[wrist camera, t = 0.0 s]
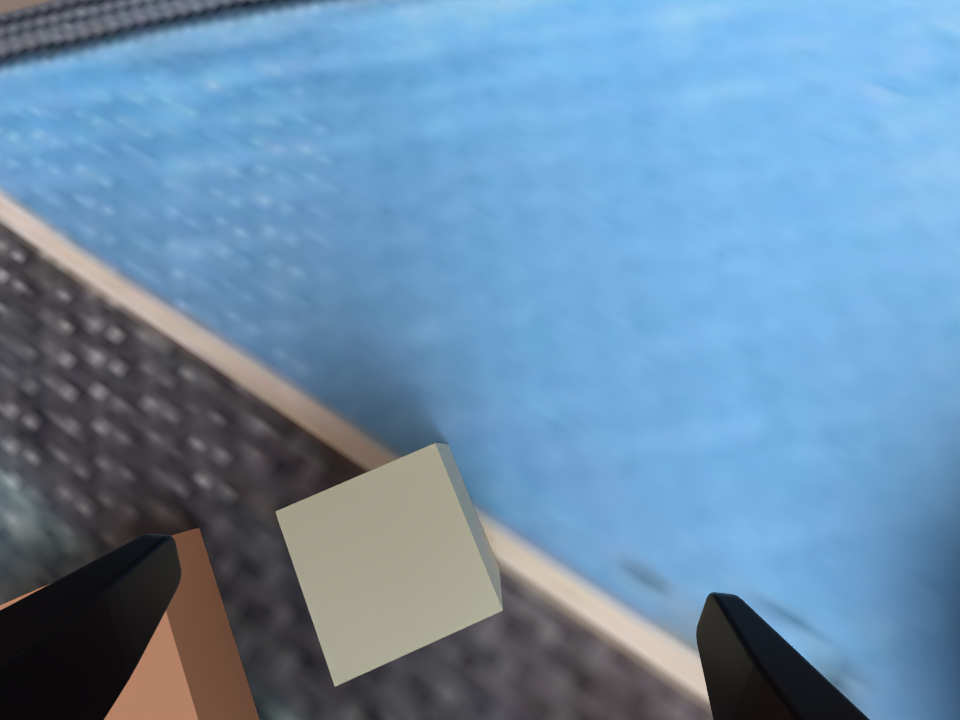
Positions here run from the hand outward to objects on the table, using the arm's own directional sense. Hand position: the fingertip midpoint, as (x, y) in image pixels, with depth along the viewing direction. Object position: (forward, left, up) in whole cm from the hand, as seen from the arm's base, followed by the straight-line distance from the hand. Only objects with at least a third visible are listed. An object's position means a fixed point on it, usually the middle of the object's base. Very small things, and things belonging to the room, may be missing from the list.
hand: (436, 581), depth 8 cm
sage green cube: (0, +3, -15) cm, 15 cm away
